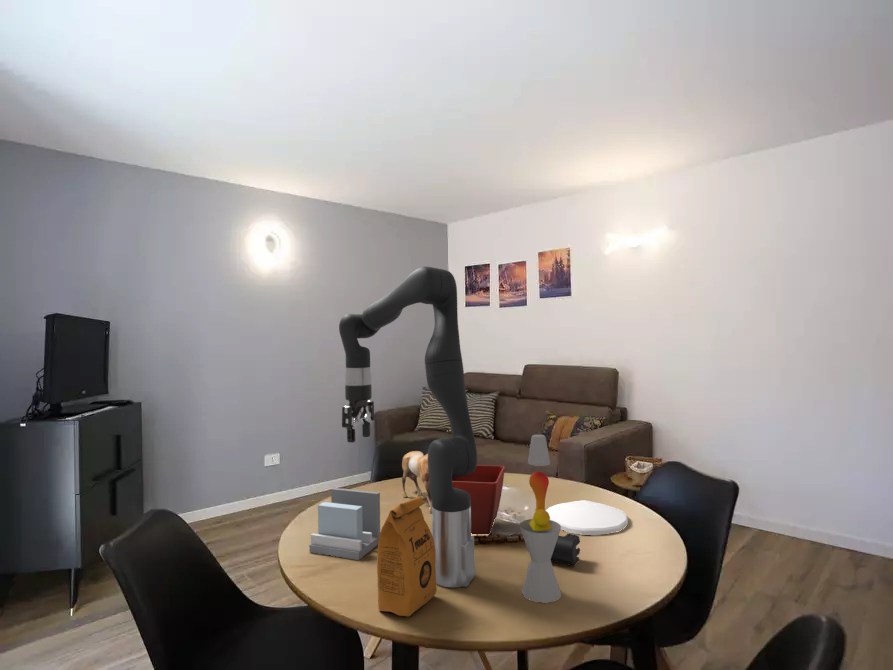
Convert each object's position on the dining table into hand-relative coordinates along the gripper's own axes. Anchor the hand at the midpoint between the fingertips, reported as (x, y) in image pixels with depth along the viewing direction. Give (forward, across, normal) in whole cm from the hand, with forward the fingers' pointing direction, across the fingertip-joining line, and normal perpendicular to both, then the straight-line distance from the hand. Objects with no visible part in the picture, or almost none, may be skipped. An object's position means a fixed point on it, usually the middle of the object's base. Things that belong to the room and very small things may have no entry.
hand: (359, 439), depth 150 cm
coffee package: (+28, -30, -29) cm, 50 cm away
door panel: (+26, -10, 0) cm, 28 cm away
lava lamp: (+28, -16, -55) cm, 64 cm away
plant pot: (+28, +16, -28) cm, 43 cm away
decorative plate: (+29, +34, -60) cm, 75 cm away
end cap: (+28, +2, -56) cm, 63 cm away
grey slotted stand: (+28, -8, 0) cm, 29 cm away
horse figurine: (+28, +36, -6) cm, 46 cm away
